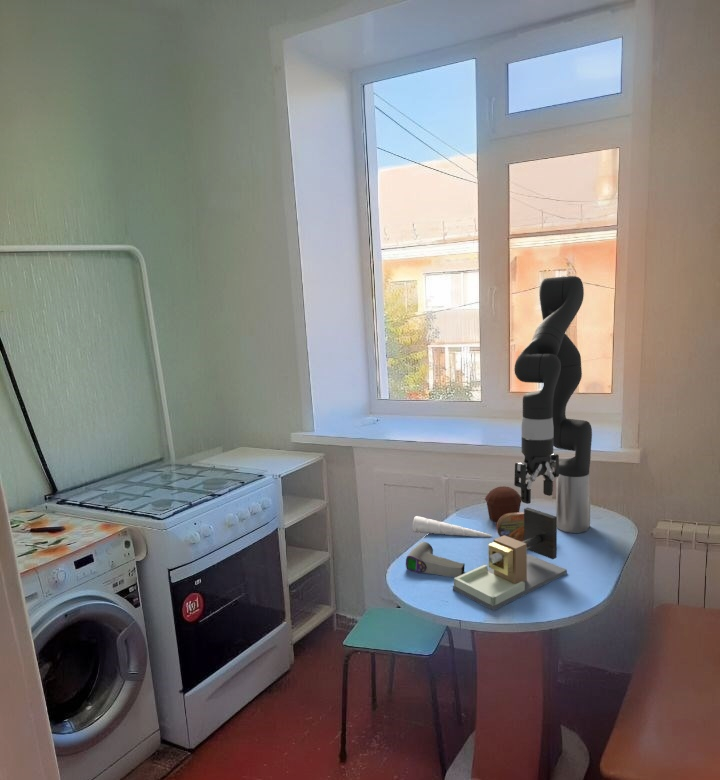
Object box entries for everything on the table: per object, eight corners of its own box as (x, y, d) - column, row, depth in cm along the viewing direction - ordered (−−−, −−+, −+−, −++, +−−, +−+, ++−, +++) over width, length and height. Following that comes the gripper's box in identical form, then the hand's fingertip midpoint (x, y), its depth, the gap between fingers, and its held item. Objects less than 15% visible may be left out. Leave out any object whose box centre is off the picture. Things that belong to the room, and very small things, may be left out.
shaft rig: (525, 556, 164) (525, 519, 162) (566, 573, 153) (567, 534, 151) (452, 589, 148) (451, 549, 146) (493, 610, 137) (492, 567, 136)
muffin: (498, 509, 199) (497, 480, 197) (528, 516, 191) (528, 486, 190) (478, 520, 191) (477, 490, 189) (509, 528, 183) (509, 497, 181)
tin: (498, 544, 172) (498, 516, 171) (495, 539, 176) (495, 512, 174) (550, 540, 173) (550, 513, 172) (546, 536, 176) (546, 509, 175)
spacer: (494, 564, 151) (494, 542, 150) (513, 573, 146) (513, 549, 145) (488, 567, 150) (488, 544, 149) (507, 575, 145) (507, 552, 144)
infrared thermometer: (460, 583, 153) (404, 572, 159) (470, 563, 164) (417, 552, 170) (461, 567, 152) (404, 555, 158) (471, 547, 163) (418, 537, 169)
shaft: (527, 546, 160) (527, 507, 159) (556, 557, 153) (556, 516, 151) (478, 568, 150) (477, 526, 148) (506, 581, 142) (506, 537, 141)
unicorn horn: (490, 543, 174) (489, 527, 173) (411, 534, 183) (410, 519, 182) (493, 536, 178) (492, 521, 177) (415, 528, 187) (415, 513, 187)
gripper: (543, 428, 154) (542, 489, 156) (505, 437, 146) (506, 501, 148) (568, 432, 148) (567, 496, 150) (530, 442, 140) (530, 509, 142)
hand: (537, 498), depth 149 cm, fingers open, 8 cm apart
